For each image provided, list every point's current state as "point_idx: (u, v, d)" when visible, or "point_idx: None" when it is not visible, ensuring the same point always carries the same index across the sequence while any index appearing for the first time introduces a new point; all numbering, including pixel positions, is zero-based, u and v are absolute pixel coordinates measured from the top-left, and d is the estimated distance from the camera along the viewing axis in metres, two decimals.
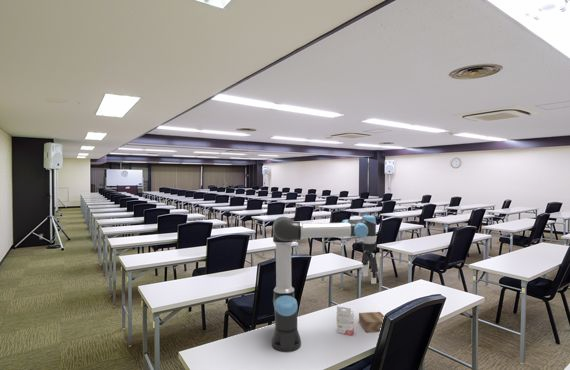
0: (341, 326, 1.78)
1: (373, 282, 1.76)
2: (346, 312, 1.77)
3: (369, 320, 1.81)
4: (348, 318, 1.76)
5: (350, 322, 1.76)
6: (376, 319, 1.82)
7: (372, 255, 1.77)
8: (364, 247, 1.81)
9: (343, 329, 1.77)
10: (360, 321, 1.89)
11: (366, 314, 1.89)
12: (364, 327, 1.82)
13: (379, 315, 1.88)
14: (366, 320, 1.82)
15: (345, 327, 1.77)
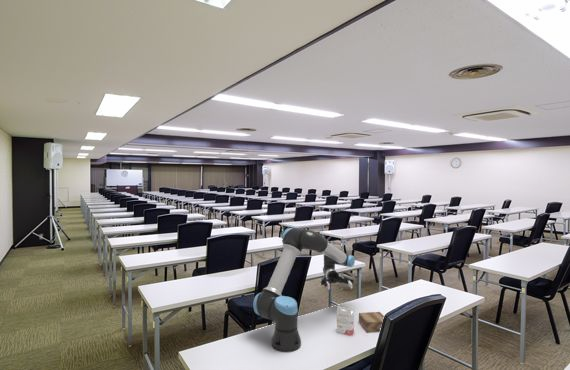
0: (341, 326, 1.78)
1: None
2: (346, 312, 1.77)
3: (370, 320, 1.81)
4: (348, 318, 1.76)
5: (350, 322, 1.76)
6: (376, 319, 1.82)
7: None
8: (335, 271, 2.08)
9: (343, 329, 1.77)
10: (360, 321, 1.89)
11: (366, 314, 1.89)
12: (364, 327, 1.82)
13: (379, 315, 1.88)
14: (366, 320, 1.82)
15: (345, 327, 1.77)
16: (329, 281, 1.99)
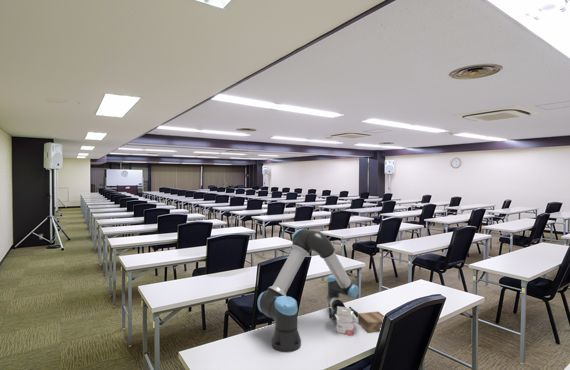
0: (341, 326, 1.78)
1: None
2: (346, 312, 1.77)
3: (371, 321, 1.80)
4: (348, 318, 1.76)
5: (350, 322, 1.76)
6: (377, 319, 1.82)
7: None
8: (340, 301, 1.95)
9: (343, 329, 1.77)
10: (360, 322, 1.88)
11: (365, 314, 1.89)
12: (365, 328, 1.81)
13: (378, 315, 1.88)
14: (367, 320, 1.81)
15: (345, 327, 1.77)
16: (336, 313, 1.85)
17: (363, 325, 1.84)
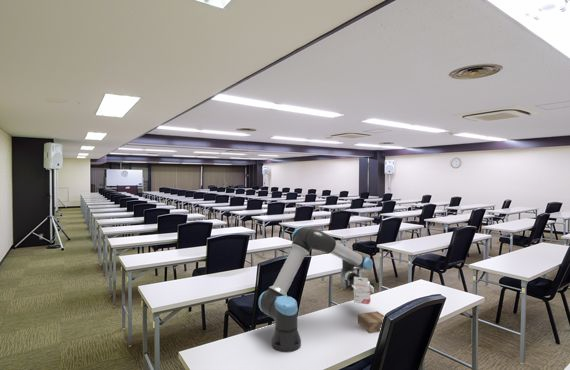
0: (358, 296, 1.82)
1: None
2: (363, 282, 1.81)
3: (371, 321, 1.80)
4: (365, 288, 1.80)
5: (367, 291, 1.80)
6: (377, 319, 1.82)
7: None
8: (356, 274, 1.99)
9: (360, 299, 1.82)
10: (360, 322, 1.88)
11: (365, 314, 1.89)
12: (366, 328, 1.81)
13: (378, 314, 1.89)
14: (368, 320, 1.81)
15: (362, 297, 1.81)
16: (352, 284, 1.90)
17: (363, 325, 1.84)
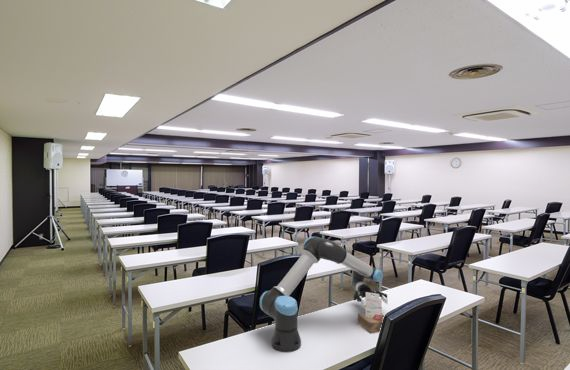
0: (370, 311, 1.84)
1: None
2: (375, 297, 1.83)
3: (372, 321, 1.80)
4: (377, 303, 1.82)
5: (379, 307, 1.82)
6: None
7: None
8: (366, 285, 2.01)
9: (371, 314, 1.84)
10: (360, 322, 1.87)
11: (365, 315, 1.88)
12: (367, 328, 1.81)
13: None
14: (369, 320, 1.81)
15: (374, 312, 1.83)
16: (362, 296, 1.92)
17: (364, 326, 1.83)
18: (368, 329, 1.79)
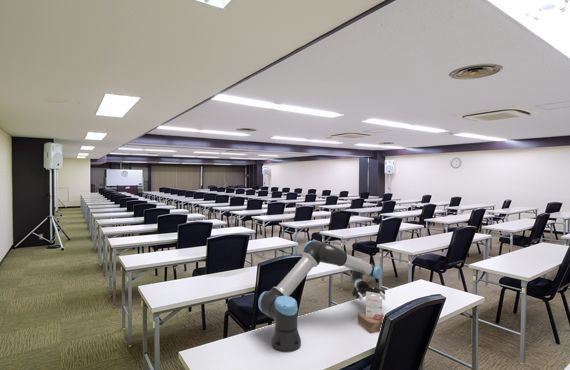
0: (370, 311, 1.84)
1: None
2: (375, 297, 1.83)
3: (372, 321, 1.80)
4: (377, 303, 1.82)
5: (379, 307, 1.82)
6: (378, 319, 1.82)
7: None
8: (365, 282, 2.06)
9: (372, 314, 1.84)
10: (360, 322, 1.87)
11: (365, 315, 1.88)
12: (367, 328, 1.81)
13: None
14: (369, 320, 1.81)
15: (374, 312, 1.83)
16: (360, 292, 1.97)
17: (364, 326, 1.83)
18: (368, 329, 1.79)
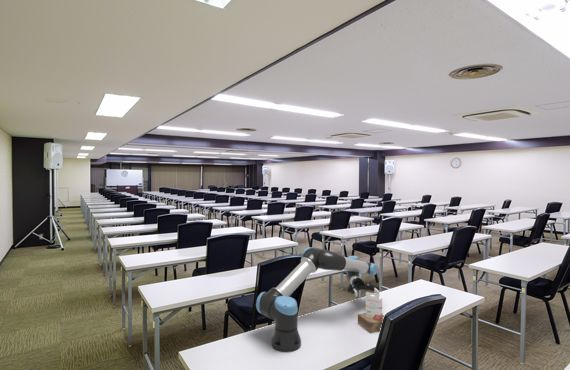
0: (370, 311, 1.84)
1: None
2: (375, 298, 1.83)
3: (372, 321, 1.80)
4: (377, 303, 1.82)
5: (379, 307, 1.82)
6: None
7: None
8: (360, 279, 2.14)
9: (372, 314, 1.84)
10: (360, 322, 1.88)
11: (365, 315, 1.89)
12: (367, 328, 1.81)
13: None
14: (369, 320, 1.81)
15: (374, 312, 1.83)
16: (355, 288, 2.05)
17: (364, 326, 1.84)
18: (368, 329, 1.80)
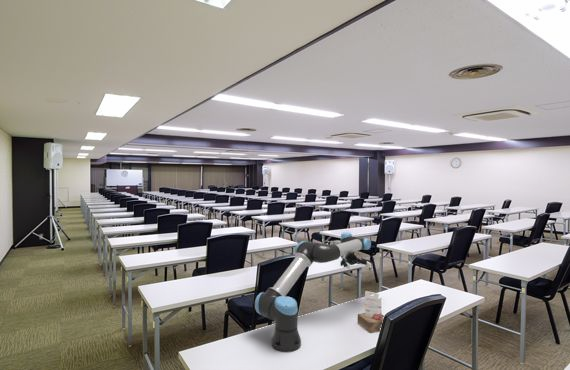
0: (369, 310, 1.85)
1: None
2: (374, 296, 1.84)
3: (372, 321, 1.80)
4: (376, 302, 1.83)
5: (378, 306, 1.82)
6: (378, 319, 1.83)
7: None
8: (353, 254, 2.16)
9: (371, 313, 1.85)
10: (360, 322, 1.88)
11: None
12: (366, 328, 1.81)
13: None
14: (368, 320, 1.81)
15: (373, 311, 1.84)
16: (348, 262, 2.07)
17: (364, 325, 1.84)
18: (368, 329, 1.80)
